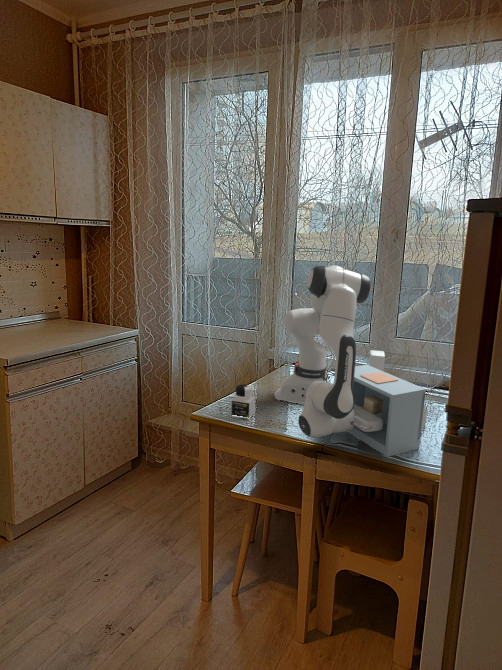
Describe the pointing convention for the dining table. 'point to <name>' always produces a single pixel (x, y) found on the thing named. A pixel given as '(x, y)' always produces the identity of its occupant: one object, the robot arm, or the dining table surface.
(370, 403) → the oak block
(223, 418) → the dining table surface
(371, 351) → the skincare box
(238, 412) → the medicine bottle
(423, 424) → the tea bag
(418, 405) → the cubby
